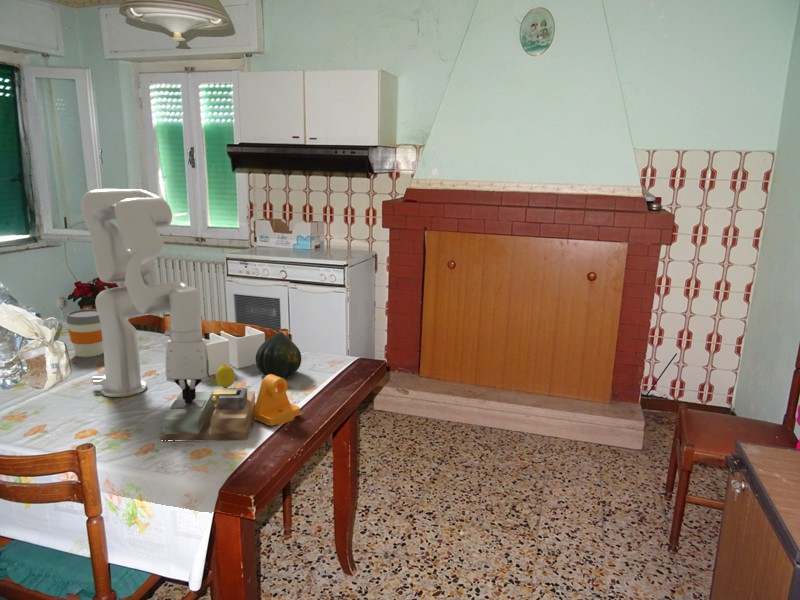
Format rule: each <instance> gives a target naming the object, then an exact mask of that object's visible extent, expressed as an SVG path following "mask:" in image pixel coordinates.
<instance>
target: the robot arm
mask: <svg viewBox="0 0 800 600" xmlns="http://www.w3.org/2000/svg"><path fill="white" fill-rule="evenodd" d="M80 211H81V214H82V219H83V221H84V223H85V225H86V228H87V230H88V233H89V234H90V239H91V244H92V245H91V246H92V250H93V251H92V252H93V256H94V257H93V259H94V264H95V265H94V266H95V270H96V274H97V276H98V279H99V280H100V281H101V282H102V283H106V284H116V283H125V286H116V287H112V288H106V289H104V290H102V291H100V292H99V293H98V294H97V295H96V296H95V297H96V298H95V303H94V304H95V309H97V312H98V316H99V320H100V324H101V331H102V341H103V352H104V353H103V361H104V363H103V364H104V373H105V374H104V375H102V376H100V375H99V376H97V375H94V376H92V377H91V382H92V385H94V386H98V385H101V387H100V393H101V394H102V395H103V396H105V397H111V398H122V397H129V396H135V395H137V394H140V393H142V392H144V391H145V390H147V388H148V384H147V382H146V381H145V380H143V379H141V378H142V377H141V363H140V347H139V334H138V331H137V329H136V328H135V326H134V324H131V322H130V321H129V319H133V318H136V317H137V318H138V317H144V316H149V315H155V314H160V313H165V312H169V327H170V329H167V330H164V336H165V337H169V340H168V341H167V344H166V349H165V377H166V378H165V379H166V381H167V382H171V383H175V384H176V385H178V386H179V387H180V388H179V389H181V392H182V396H183V399H185V404H187V403H189V404H191V403H192V402H193V400H194V399H195V398H196V392H197V391H196V387H198V385H199V384H200V383H204V382H208V381H210V378H211V377H210V376H211V375H210V376H209V373H208V371H209V361H208V353H207V347H206V344H207V343H206V340H205V338H204V337H203V332H202V331H203V330H202V329H203V328H202V326H203V325H202V306H201V301H202V299H201V291H200V290H199V289H198V288H196V287H193V286H189V285H187V283H185V282H183V281H169V282H161V283H158V277H157V275H158V274H157V270H156V269H157V268H156V263H155V261H154V259H155V258H157V257H159V256H160V255H161V254H162V253H163V251H165V243H164V241H163V239H162V236H161V234H160V231H159V229H162V228H166V227H168V226H169V225H171V223H172V221H173V213H172V209H171V207H170V205H169V203H168V202H167V201H166V200H165V198H162V197H161V196H159V195H157V194H154V193H153V192H150V191H147V190H146V189H145V190H144V189H138V188H137V189H136V188H100V189H92V190H90V191H87V192H86V193H84V194H83V195H82V198H81V201H80ZM113 220H117V222H118V224H117V223H115V222H114V221H113ZM126 245H127V246H126ZM127 247H128V248H127ZM188 380H190V384H188Z"/></svg>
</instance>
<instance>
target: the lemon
mask: <svg viewBox="0 0 800 600" xmlns="http://www.w3.org/2000/svg"><path fill="white" fill-rule="evenodd" d="M235 377H236V376H235V372H234V369H233V367H232V366H231V365H230V366H228V365H226V364H224V365H223V366H221V367H219V369H218V370H217V373H216V374H215V381H216V383H217V385H218V386H219V387H221V388H222V389H223V388H231V386H232V385H233V384H234V382H235Z"/></svg>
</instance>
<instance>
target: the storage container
mask: <svg viewBox="0 0 800 600" xmlns="http://www.w3.org/2000/svg"><path fill="white" fill-rule="evenodd" d="M219 333H220V334H219V335H218V334H216V333H214V332H211V333H209V343H206V347H207V353H208V361H209V371H208V373H209V376H212V375H213V374H214V375H216V373H217V370H218V369H219V367H221V366H223V365H224V364H226V365H228V366H230V367H234V368H236V369H241V367H242V368H245V367H244V366H246V367H249V366H248V365H250V366H253V365H252V364H254V365H256V353H257V351H258V349H259V347H260V346H261V345H262V344H263V343H264V342H265V341H266V335H265V334H266V333H265V332H264V331H261V330H259V329H257V328H253V327H251V326H245V327H244V333H245V334H244V336H242V337H237V336H234V335H231V334H229V333H226V332H225V331H224V330H221V331H220V332H219ZM214 375H213V376H214Z"/></svg>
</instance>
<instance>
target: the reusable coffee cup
mask: <svg viewBox="0 0 800 600" xmlns="http://www.w3.org/2000/svg"><path fill="white" fill-rule="evenodd" d="M66 323H67V324H68V335H69V337H70V341H71V343H72V344H73V348H74V354H75V356H76V357H79V358H91V357H97V355H98V356H100V354H101V355H103V354H104V352H103V341H102V331H101V324H100V320H99V316H98V312H97V309H96V308H87V309H86V308H85V309H77V310H73V311H72V310H71V311H70V312H68V313H66ZM102 353H103V354H102Z"/></svg>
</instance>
